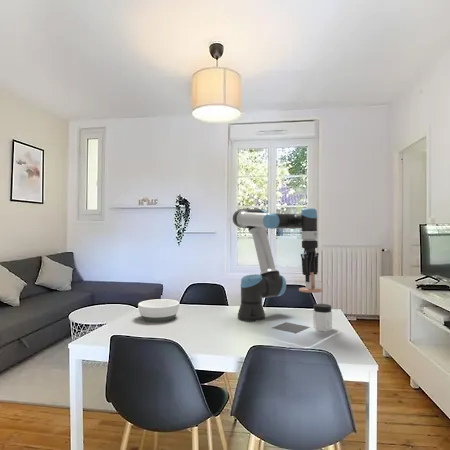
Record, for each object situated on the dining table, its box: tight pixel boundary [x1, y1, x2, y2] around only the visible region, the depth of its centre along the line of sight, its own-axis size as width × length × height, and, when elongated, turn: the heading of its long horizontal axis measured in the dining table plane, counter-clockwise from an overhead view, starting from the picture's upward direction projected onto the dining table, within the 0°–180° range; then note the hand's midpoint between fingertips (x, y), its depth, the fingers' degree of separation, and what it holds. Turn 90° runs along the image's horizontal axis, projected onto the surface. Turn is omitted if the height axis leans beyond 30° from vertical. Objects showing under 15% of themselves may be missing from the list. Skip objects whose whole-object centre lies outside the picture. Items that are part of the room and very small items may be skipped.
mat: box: [271, 321, 311, 334], centre depth 177 cm, size 14×14×1 cm
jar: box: [312, 303, 333, 332], centre depth 175 cm, size 9×8×12 cm
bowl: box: [137, 298, 180, 323], centre depth 199 cm, size 22×22×8 cm
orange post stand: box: [298, 272, 323, 294], centre depth 175 cm, size 11×11×9 cm
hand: (310, 288), depth 175 cm, fingers closed on orange post stand, 3 cm apart
